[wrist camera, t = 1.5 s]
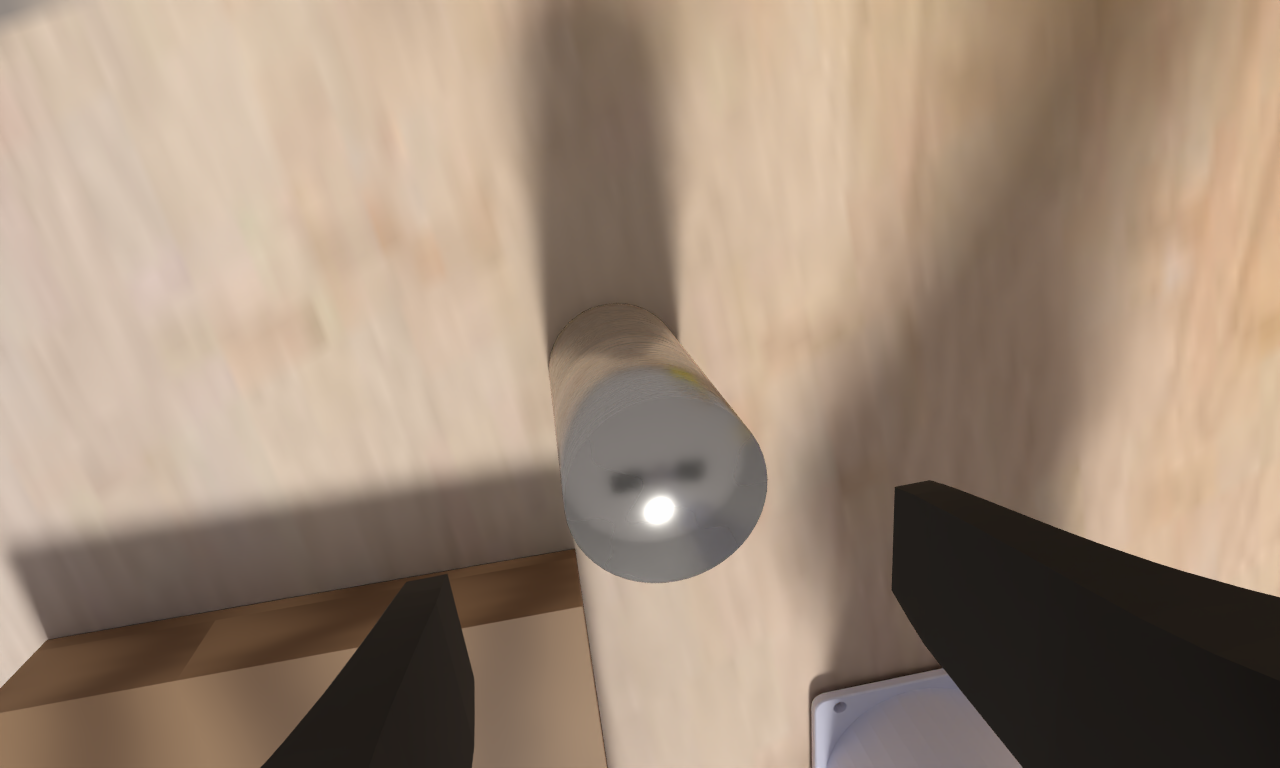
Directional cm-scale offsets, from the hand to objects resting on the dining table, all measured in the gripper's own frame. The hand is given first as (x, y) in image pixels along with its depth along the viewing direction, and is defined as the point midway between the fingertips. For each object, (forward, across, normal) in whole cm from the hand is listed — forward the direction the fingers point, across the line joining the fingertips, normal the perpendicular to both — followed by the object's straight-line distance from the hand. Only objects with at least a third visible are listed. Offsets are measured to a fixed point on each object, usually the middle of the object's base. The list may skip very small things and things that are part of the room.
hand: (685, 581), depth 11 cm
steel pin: (+11, 0, 0) cm, 11 cm away
